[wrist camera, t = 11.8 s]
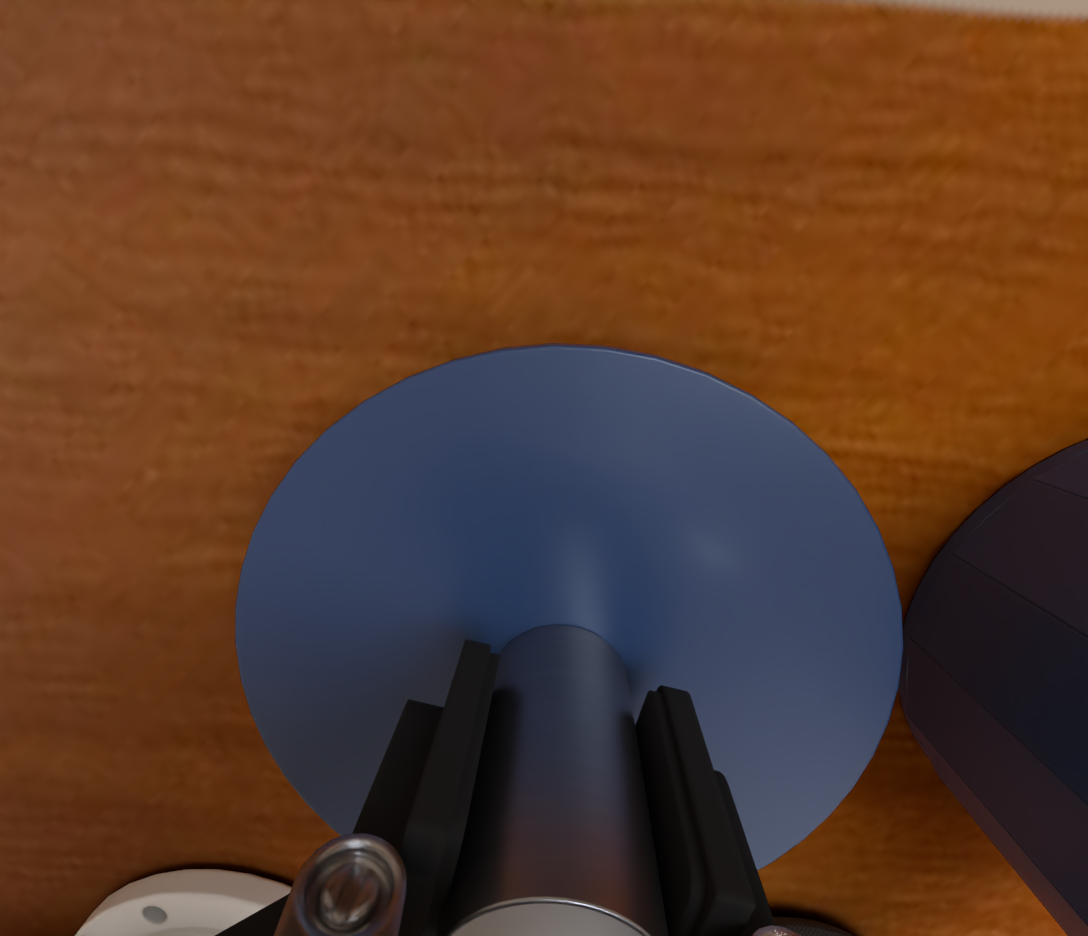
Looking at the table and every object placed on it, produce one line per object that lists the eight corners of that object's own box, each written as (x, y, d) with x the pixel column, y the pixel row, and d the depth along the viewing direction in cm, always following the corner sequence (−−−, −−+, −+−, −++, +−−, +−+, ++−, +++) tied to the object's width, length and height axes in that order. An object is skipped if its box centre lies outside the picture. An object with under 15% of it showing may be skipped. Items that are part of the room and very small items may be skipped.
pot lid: (242, 806, 15) (-7, 1187, 8) (294, 262, 11) (-135, 189, 4) (745, 919, 15) (874, 1367, 9) (989, 437, 11) (1591, 622, 4)
